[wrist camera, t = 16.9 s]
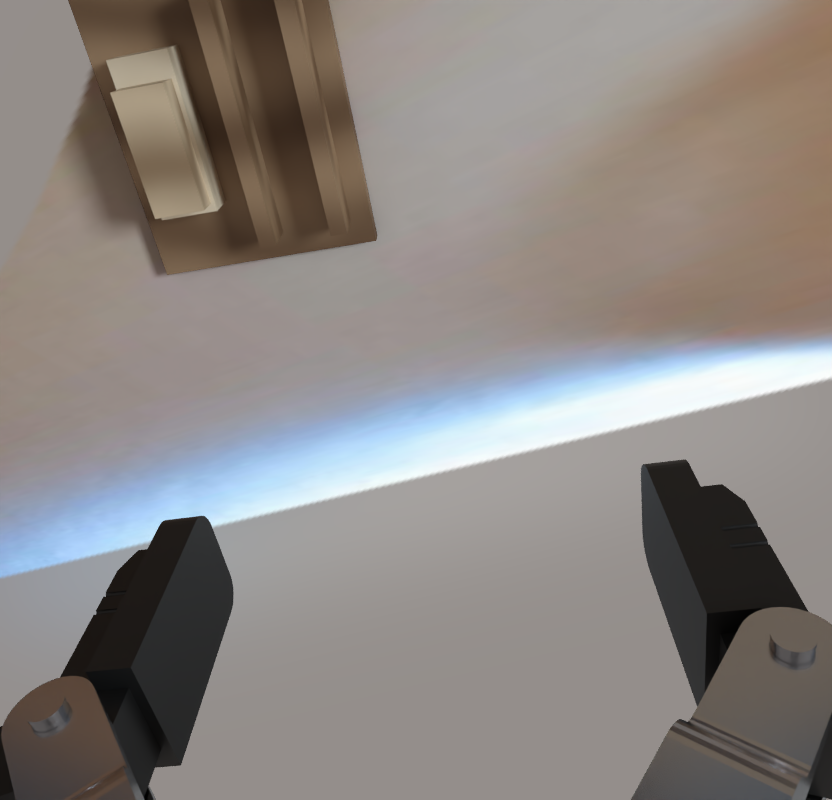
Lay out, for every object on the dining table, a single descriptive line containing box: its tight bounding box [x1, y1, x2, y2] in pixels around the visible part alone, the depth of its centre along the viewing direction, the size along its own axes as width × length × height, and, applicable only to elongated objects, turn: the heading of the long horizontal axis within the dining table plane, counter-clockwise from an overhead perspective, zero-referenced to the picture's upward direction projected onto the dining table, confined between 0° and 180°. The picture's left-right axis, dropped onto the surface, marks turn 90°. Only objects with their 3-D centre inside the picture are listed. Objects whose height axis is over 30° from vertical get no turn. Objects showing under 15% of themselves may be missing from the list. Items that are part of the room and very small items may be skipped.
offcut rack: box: [68, 0, 377, 275], centre depth 44 cm, size 17×14×4 cm
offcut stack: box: [106, 45, 226, 220], centre depth 43 cm, size 9×4×4 cm, turn 10°
